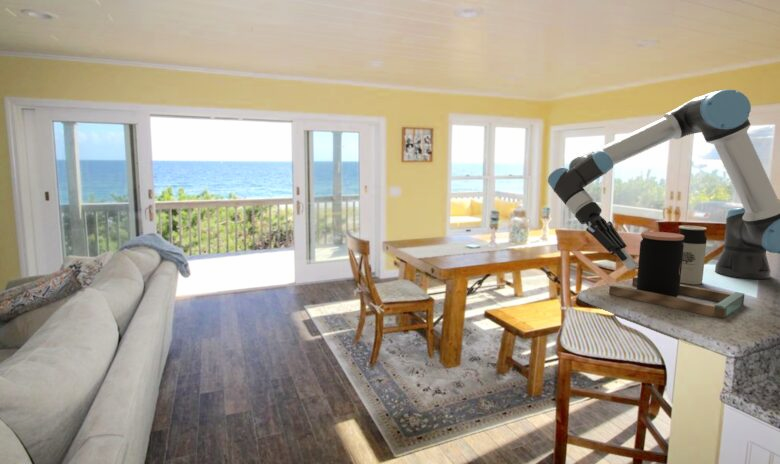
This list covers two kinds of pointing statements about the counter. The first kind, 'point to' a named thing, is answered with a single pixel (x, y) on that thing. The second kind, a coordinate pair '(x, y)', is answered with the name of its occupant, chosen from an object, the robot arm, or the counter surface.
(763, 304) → the counter surface
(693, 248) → the travel mug
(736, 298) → the bay
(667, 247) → the coffee jar
